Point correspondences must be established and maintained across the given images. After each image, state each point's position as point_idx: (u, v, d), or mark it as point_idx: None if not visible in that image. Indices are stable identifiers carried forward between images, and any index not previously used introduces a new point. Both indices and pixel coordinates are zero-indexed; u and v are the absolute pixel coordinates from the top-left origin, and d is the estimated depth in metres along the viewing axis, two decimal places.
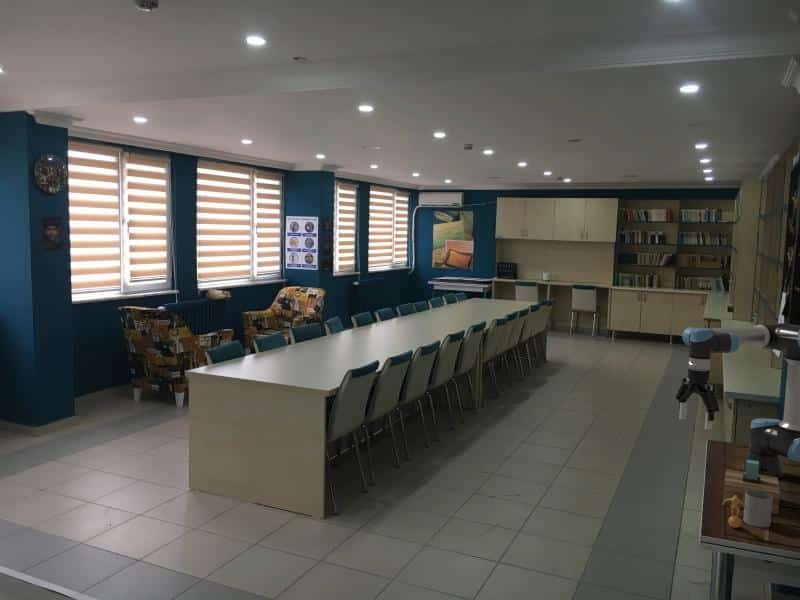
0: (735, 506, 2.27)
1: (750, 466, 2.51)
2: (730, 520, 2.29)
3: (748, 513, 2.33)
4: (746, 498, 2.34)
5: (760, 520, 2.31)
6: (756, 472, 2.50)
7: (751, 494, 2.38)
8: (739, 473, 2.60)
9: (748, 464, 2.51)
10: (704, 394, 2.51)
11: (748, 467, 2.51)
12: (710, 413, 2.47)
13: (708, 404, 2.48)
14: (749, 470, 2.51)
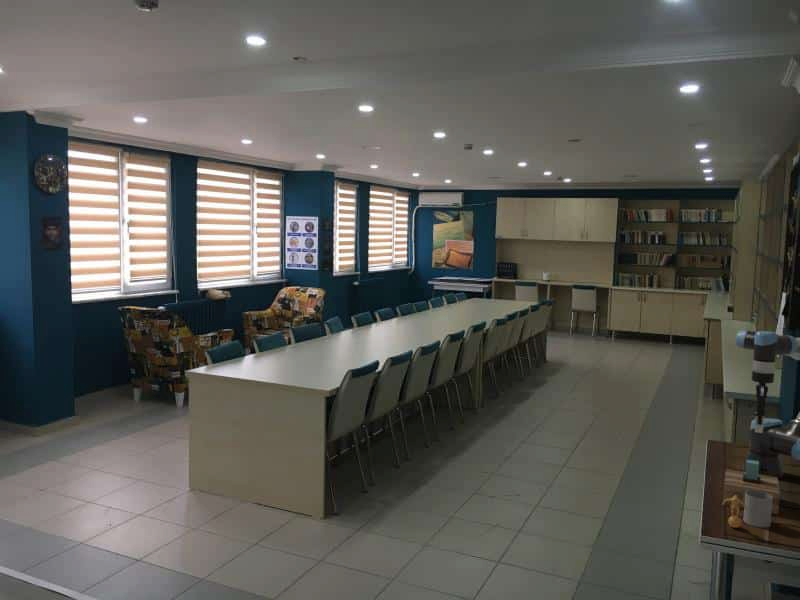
0: (735, 506, 2.27)
1: (750, 466, 2.51)
2: (730, 520, 2.29)
3: (748, 513, 2.33)
4: (746, 498, 2.34)
5: (760, 520, 2.31)
6: (756, 472, 2.50)
7: (751, 494, 2.38)
8: (739, 473, 2.60)
9: (748, 464, 2.51)
10: None
11: (748, 467, 2.51)
12: (758, 417, 2.57)
13: None
14: (749, 470, 2.51)
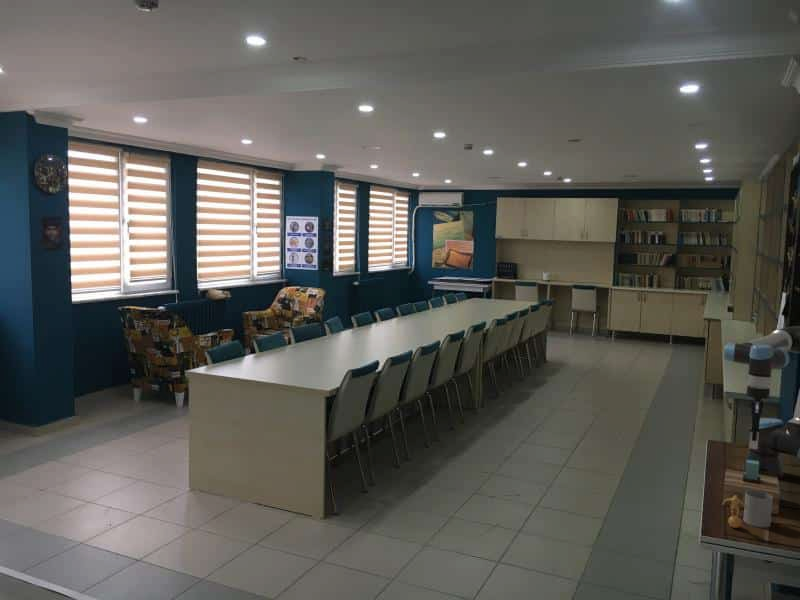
0: (735, 506, 2.27)
1: (750, 466, 2.51)
2: (730, 520, 2.29)
3: (748, 513, 2.33)
4: (746, 498, 2.34)
5: (760, 520, 2.31)
6: (756, 472, 2.50)
7: (751, 494, 2.38)
8: (739, 473, 2.60)
9: (748, 464, 2.51)
10: None
11: (748, 467, 2.51)
12: (752, 432, 2.50)
13: None
14: (749, 470, 2.51)
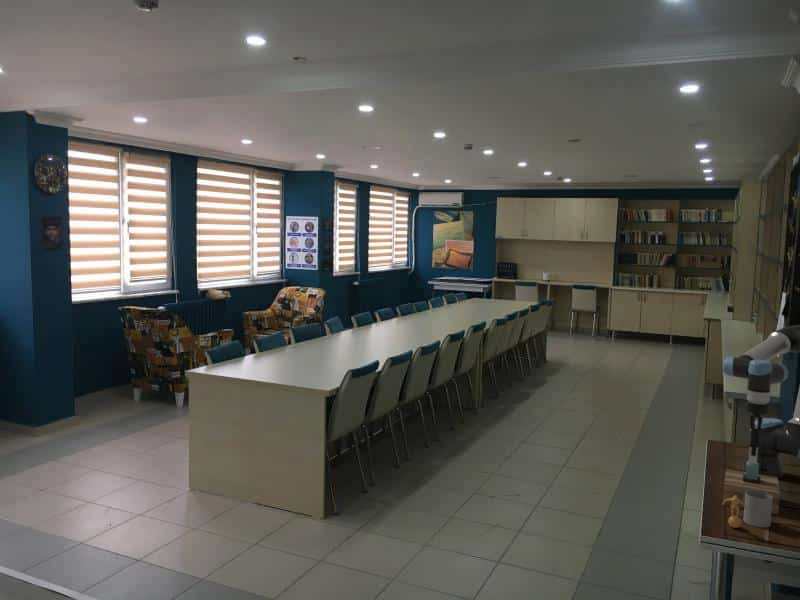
0: (735, 506, 2.27)
1: (750, 468, 2.51)
2: (730, 520, 2.29)
3: (748, 513, 2.33)
4: (746, 498, 2.34)
5: (760, 520, 2.31)
6: (756, 474, 2.50)
7: (751, 494, 2.38)
8: (739, 473, 2.60)
9: (748, 466, 2.51)
10: None
11: (748, 469, 2.51)
12: (752, 448, 2.51)
13: None
14: (748, 471, 2.51)
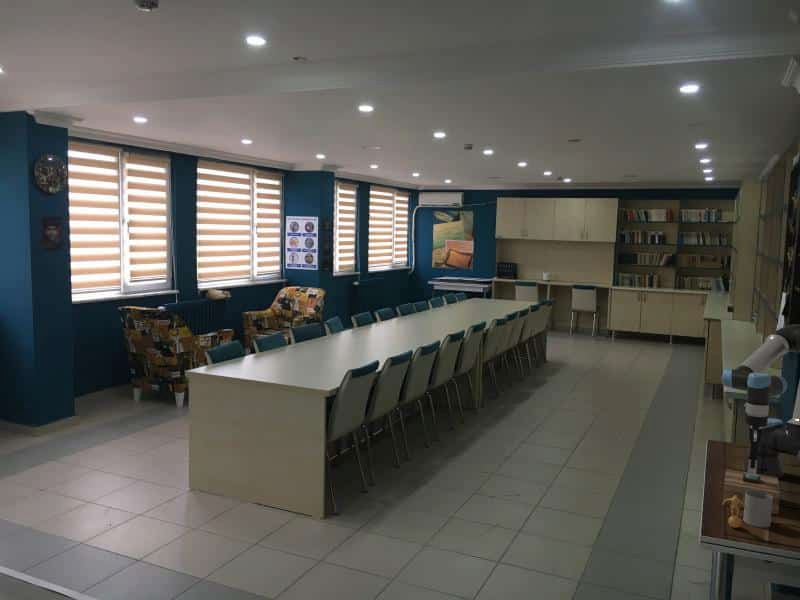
0: (735, 506, 2.27)
1: None
2: (730, 520, 2.29)
3: (748, 513, 2.33)
4: (746, 498, 2.34)
5: (760, 520, 2.31)
6: None
7: (751, 494, 2.38)
8: (739, 473, 2.60)
9: (747, 478, 2.52)
10: None
11: None
12: (751, 460, 2.51)
13: None
14: None
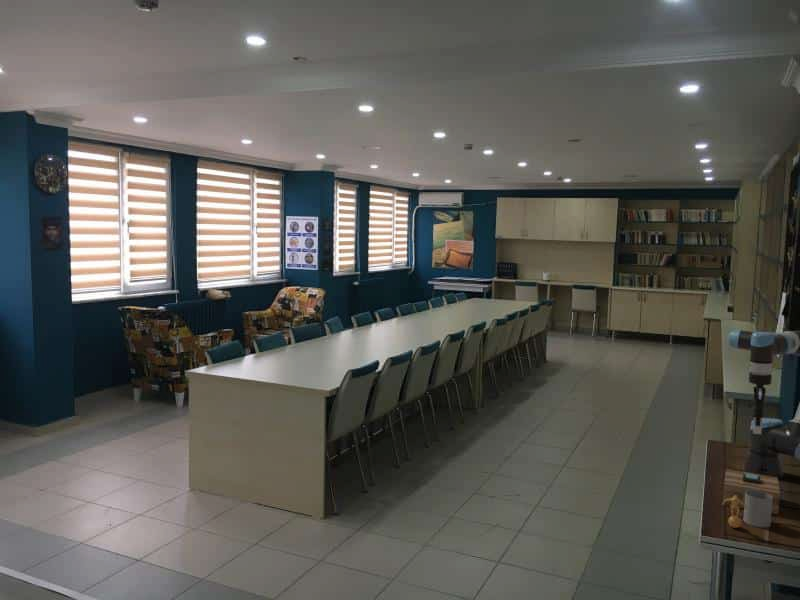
0: (735, 506, 2.27)
1: None
2: (730, 520, 2.29)
3: (748, 513, 2.33)
4: (746, 498, 2.34)
5: (760, 520, 2.31)
6: None
7: (751, 494, 2.38)
8: (739, 473, 2.60)
9: (747, 478, 2.52)
10: None
11: None
12: (756, 418, 2.55)
13: None
14: None
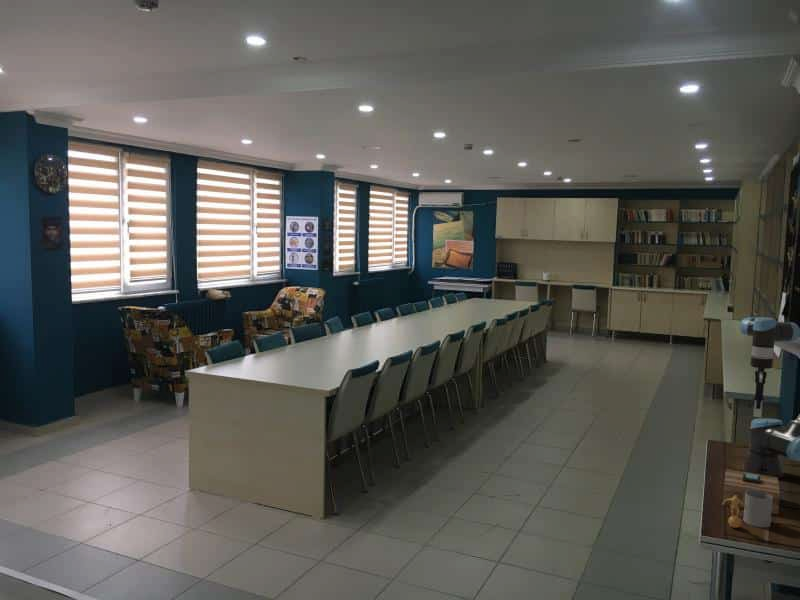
0: (735, 506, 2.27)
1: None
2: (730, 520, 2.29)
3: (748, 513, 2.33)
4: (746, 498, 2.34)
5: (760, 520, 2.31)
6: None
7: (751, 494, 2.38)
8: (739, 473, 2.60)
9: (747, 478, 2.52)
10: None
11: None
12: (756, 401, 2.62)
13: None
14: None
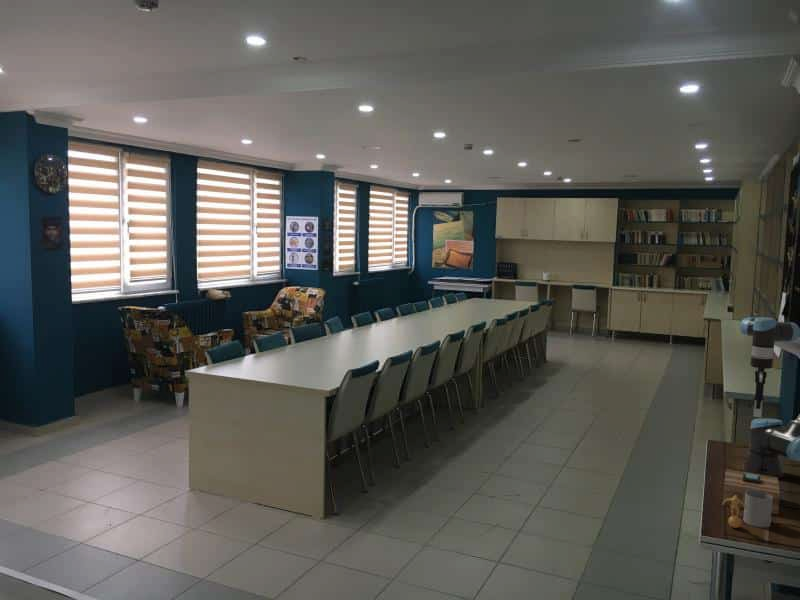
0: (735, 506, 2.27)
1: None
2: (730, 520, 2.29)
3: (748, 513, 2.33)
4: (746, 498, 2.34)
5: (760, 520, 2.31)
6: None
7: (751, 494, 2.38)
8: (739, 473, 2.60)
9: (747, 478, 2.52)
10: None
11: None
12: (756, 401, 2.62)
13: None
14: None
